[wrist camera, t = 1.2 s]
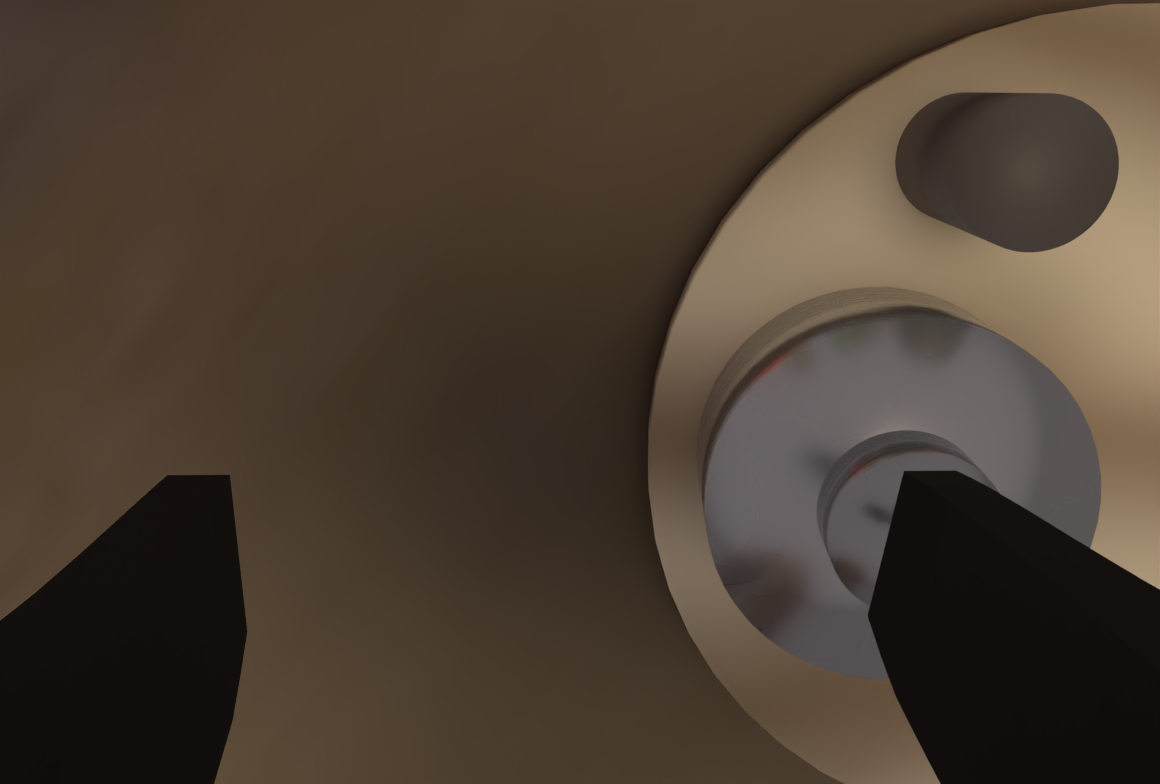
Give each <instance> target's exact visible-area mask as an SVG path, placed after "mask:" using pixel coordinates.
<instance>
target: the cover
mask: <svg viewBox="0 0 1160 784" xmlns="http://www.w3.org/2000/svg"><path fill="white" fill-rule="evenodd" d="M696 464H697V472H698V481H699V487H700V493H701V500H702V506H703V512H704V518H705V524H706V531H707V537H708V543H709V546H710V550H711V554H712V558H713V561H714V565H715V567H716V569H717V572H718V574H719V576H720V579H721V581H722V583H723V585H724V587H725V589H726V590H727V592H728V594H729V595H730V597H731V599H732V600H733V602H734V604H735V605H736V606H737V607H738V609H739V610H740V611H741V612H742V614H743V615H744V616H745V617H746V618H747V620H748V621H749V622H750V623H751V624H752V625H753V626H754V627H755V628H756V629H757V630H759V631H760V632H761V633H762V634H763V635H764V636H765V637H766V638H767V639H769V640H770V641H772V642H773V643H774V644H776V645H777V646H779V647H780V648H781V649H783V650H784V651H786V652H788V653H790V654H792V655H793V656H795V657H797V658H799V659H801V660H803V661H805V662H807V663H809V664H812V665H815V666H817V667H820V668H822V669H825V670H828V671H832V672H836V673H839V674H843V675H847V676H852V677H859V678H867V679H875V680H889V677H888V674H887V672H886V669H885V666H884V664H883V661H882V658H881V655H880V652H879V649H878V646H877V643H876V640H875V637H874V634H873V631H872V628H871V625H870V622H869V619H868V612H869V608H870V604H871V600H872V596H873V592H874V588H875V584H876V580H877V576H878V572H879V568H880V564H881V560H882V556H883V552H884V548H885V544H886V540H887V536H888V532H889V528H890V524H891V520H892V516H893V512H894V508H895V504H896V500H897V496H898V492H899V488H900V484H901V480H902V476H903V472H904V471H953V470H956V471H958V472H960V473H962V474H964V475H967V476H969V477H971V478H973V479H975V480H976V481H978V482H980V483H982V484H984V485H986V486H988V487H989V488H991V489H993V490H995V491H996V492H998V493H1000V494H1001V495H1003V496H1005V497H1007V498H1008V499H1010V500H1012V501H1013V502H1015V503H1017V504H1018V505H1020V506H1022V507H1023V508H1025V509H1027V510H1028V511H1030V512H1032V513H1033V514H1035V515H1037V516H1038V517H1040V518H1041V519H1043V520H1045V521H1046V522H1048V523H1050V524H1051V525H1053V526H1055V527H1056V528H1058V529H1059V530H1061V531H1063V532H1064V533H1066V534H1068V535H1069V536H1071V537H1073V538H1074V539H1076V540H1077V541H1079V542H1081V543H1082V544H1084V545H1086V546H1087V547H1089V548H1090V547H1091V545H1092V541H1093V538H1094V534H1095V531H1096V527H1097V524H1098V518H1099V510H1100V503H1101V472H1100V465H1099V459H1098V452H1097V448H1096V445H1095V442H1094V439H1093V436H1092V432H1091V429H1090V427H1089V425H1088V423H1087V421H1086V419H1085V417H1084V415H1083V413H1082V410H1081V408H1080V406H1079V405H1078V404H1077V402H1076V401H1075V399H1074V398H1073V396H1072V395H1071V393H1070V392H1069V391H1068V389H1067V388H1066V386H1065V385H1064V384H1063V383H1062V382H1061V381H1060V380H1059V379H1058V378H1057V377H1056V376H1055V375H1054V373H1053V372H1052V371H1051V370H1050V369H1049V368H1048V367H1046V366H1045V365H1044V364H1043V363H1041V362H1040V361H1039V360H1038V359H1036V358H1035V357H1034V356H1033V355H1031V354H1030V353H1029V352H1027V351H1026V350H1024V349H1023V348H1021V347H1020V346H1018V345H1017V344H1015V343H1014V342H1012V341H1011V340H1009V339H1008V338H1006V337H1005V336H1003V335H1002V334H1000V333H999V332H997V331H996V330H995V329H993V328H992V327H990V326H989V325H987V324H986V323H984V322H983V321H981V320H980V319H978V318H977V317H975V316H974V315H972V314H970V313H969V312H967V311H965V310H963V309H962V308H960V307H958V306H957V305H955V304H953V303H950V302H948V301H945V300H943V299H940V298H938V297H936V296H933V295H929V294H925V293H922V292H918V291H914V290H909V289H901V288H893V287H861V288H854V289H846V290H840V291H836V292H832V293H828V294H825V295H821V296H818V297H815V298H813V299H810V300H808V301H805V302H803V303H800V304H798V305H796V306H794V307H792V308H790V309H788V310H786V311H785V312H783V313H781V314H779V315H777V316H776V317H774V318H773V319H772V320H770V321H769V322H768V323H766V324H765V325H763V326H762V327H761V328H759V329H758V330H757V331H756V332H755V333H754V334H753V335H751V336H750V337H749V338H748V339H747V340H746V341H745V342H744V343H743V344H742V345H741V346H740V347H739V348H738V350H737V351H736V352H735V353H734V354H733V356H732V357H731V358H730V359H729V361H728V362H727V363H726V365H725V366H724V368H723V369H722V371H721V373H720V374H719V376H718V377H717V379H716V381H715V383H714V385H713V387H712V389H711V391H710V394H709V396H708V398H707V400H706V403H705V406H704V410H703V413H702V416H701V419H700V424H699V430H698V437H697V452H696Z"/></svg>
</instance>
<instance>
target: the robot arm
mask: <svg viewBox="0 0 1160 784" xmlns="http://www.w3.org/2000/svg"><path fill="white" fill-rule="evenodd" d="M868 619H869V622H870V625H871V628H872V631H873V634H874V637H875V640H876V643H877V646H878V649H879V652H880V655H881V658H882V661H883V664H884V666H885V669H886V672H887V674H888V677H889V680H890V682H891V685H892V688H893V691H894V693H895V696H896V698H897V700H898V702H899V704H900V706H901V708H902V710H903V712H904V714H905V716H906V718H907V720H908V722H909V724H910V726H911V728H912V730H913V732H914V734H915V736H916V738H917V740H918V742H919V744H920V745H921V747H922V749H923V751H924V753H925V755H926V757H927V759H928V761H929V763H930V765H931V767H932V769H933V771H934V772H935V774H936V776H937V778H938V780H939V782H940V784H1160V589H1158V588H1156V587H1155V586H1153V585H1151V584H1149V583H1148V582H1146V581H1144V580H1142V579H1141V578H1139V577H1137V576H1136V575H1134V574H1132V573H1131V572H1129V571H1127V570H1125V569H1124V568H1122V567H1120V566H1119V565H1117V564H1115V563H1114V562H1112V561H1110V560H1109V559H1107V558H1105V557H1104V556H1102V555H1100V554H1099V553H1097V552H1095V551H1094V550H1092V549H1091V548H1089V547H1087V546H1086V545H1084V544H1082V543H1081V542H1079V541H1077V540H1076V539H1074V538H1073V537H1071V536H1069V535H1068V534H1066V533H1064V532H1063V531H1061V530H1059V529H1058V528H1056V527H1055V526H1053V525H1051V524H1050V523H1048V522H1046V521H1045V520H1043V519H1041V518H1040V517H1038V516H1037V515H1035V514H1033V513H1032V512H1030V511H1028V510H1027V509H1025V508H1023V507H1022V506H1020V505H1018V504H1017V503H1015V502H1013V501H1012V500H1010V499H1008V498H1007V497H1005V496H1003V495H1001V494H1000V493H998V492H996V491H995V490H993V489H991V488H989V487H988V486H986V485H984V484H982V483H980V482H978V481H976V480H975V479H973V478H971V477H969V476H967V475H964V474H962V473H960V472H958V471H956V470H953V471H904V472H903V476H902V480H901V484H900V488H899V492H898V496H897V500H896V504H895V508H894V512H893V516H892V520H891V524H890V528H889V532H888V536H887V540H886V544H885V548H884V552H883V556H882V560H881V564H880V568H879V572H878V576H877V580H876V584H875V588H874V592H873V596H872V600H871V604H870V608H869V612H868ZM246 636H247V626H246V617H245V608H244V599H243V590H242V581H241V572H240V563H239V554H238V545H237V536H236V527H235V518H234V509H233V500H232V491H231V482H230V475H167V476H166V477H165V478H164V479H163V480H162V481H160V482H159V483H158V484H157V485H156V486H155V487H154V488H152V489H151V490H150V491H149V492H148V493H147V494H146V495H145V496H144V497H142V498H141V499H140V500H139V501H138V502H137V503H136V504H135V505H134V506H132V507H131V508H130V509H129V510H128V511H127V512H126V513H125V514H124V515H123V516H121V517H120V518H119V519H118V520H117V521H116V522H115V523H114V524H113V525H112V526H110V527H109V528H108V529H107V530H106V531H105V532H104V533H103V534H102V535H101V536H99V537H98V538H97V539H96V540H95V541H94V542H93V543H92V544H91V545H90V546H88V547H87V548H86V549H85V550H84V551H83V552H82V553H81V554H80V555H78V556H77V557H76V558H75V559H74V560H73V561H72V562H70V563H69V564H68V565H67V566H66V567H65V568H63V569H62V570H61V571H60V572H59V573H58V574H57V575H55V576H54V577H53V578H52V579H51V580H50V581H49V582H47V583H46V584H45V585H44V586H43V587H42V588H40V589H39V590H38V591H37V592H36V593H35V594H34V595H32V596H31V597H30V598H28V599H27V600H26V601H25V602H23V603H22V604H21V605H20V606H18V607H17V608H16V609H15V610H13V611H12V612H11V613H10V614H8V615H7V616H6V617H4V618H3V619H2V620H1V621H0V784H214V782H215V778H216V775H217V771H218V768H219V765H220V761H221V758H222V755H223V751H224V748H225V745H226V741H227V738H228V734H229V731H230V727H231V724H232V720H233V715H234V709H235V703H236V697H237V692H238V686H239V680H240V674H241V668H242V661H243V655H244V649H245V642H246Z"/></svg>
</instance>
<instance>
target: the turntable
mask: <svg viewBox="0 0 1160 784" xmlns="http://www.w3.org/2000/svg"><path fill="white" fill-rule="evenodd" d="M861 287H893V288H901V289H909V290H914V291H918V292H922V293H925V294H929V295H933V296H936V297H938V298H940V299H943V300H945V301H948V302H950V303H953V304H955V305H957V306H958V307H960V308H962V309H963V310H965V311H967V312H969V313H970V314H972V315H974V316H975V317H977V318H978V319H980V320H981V321H983V322H984V323H986V324H987V325H989V326H990V327H992V328H993V329H995V330H996V331H997V332H999V333H1000V334H1002V335H1003V336H1005V337H1006V338H1008V339H1009V340H1011V341H1012V342H1014V343H1015V344H1017V345H1018V346H1020V347H1021V348H1023V349H1024V350H1026V351H1027V352H1029V353H1030V354H1031V355H1033V356H1034V357H1035V358H1036V359H1038V360H1039V361H1040V362H1041V363H1043V364H1044V365H1045V366H1046V367H1048V368H1049V369H1050V370H1051V371H1052V372H1053V373H1054V375H1055V376H1056V377H1057V378H1058V379H1059V380H1060V381H1061V382H1062V383H1063V384H1064V385H1065V386H1066V388H1067V389H1068V391H1069V392H1070V393H1071V395H1072V396H1073V398H1074V399H1075V401H1076V402H1077V404H1078V405H1079V406H1080V408H1081V410H1082V413H1083V415H1084V417H1085V419H1086V421H1087V423H1088V425H1089V427H1090V429H1091V432H1092V436H1093V439H1094V442H1095V445H1096V448H1097V452H1098V459H1099V465H1100V472H1101V503H1100V510H1099V518H1098V524H1097V527H1096V531H1095V534H1094V538H1093V541H1092V545H1091V547H1090V548H1091V549H1092V550H1094V551H1095V552H1097V553H1099V554H1100V555H1102V556H1104V557H1105V558H1107V559H1109V560H1110V561H1112V562H1114V563H1115V564H1117V565H1119V566H1120V567H1122V568H1124V569H1125V570H1127V571H1129V572H1131V573H1132V574H1134V575H1136V576H1137V577H1139V578H1141V579H1142V580H1144V581H1146V582H1148V583H1149V584H1151V585H1153V586H1155V587H1156V588H1158V589H1160V3H1145V4H1110V5H1104V6H1097V7H1091V8H1084V9H1078V10H1071V11H1065V12H1058V13H1052V14H1045V15H1040V16H1034V17H1029V18H1024V19H1020V20H1017V21H1013V22H1010V23H1006V24H1003V25H999V26H996V27H992V28H989V29H985V30H982V31H979V32H975V33H972V34H968V35H965V36H962V37H960V38H957V39H955V40H953V41H950V42H948V43H946V44H943V45H941V46H939V47H936V48H934V49H932V50H929V51H927V52H925V53H922V54H920V55H918V56H915V57H913V58H911V59H909V60H906V61H904V62H902V63H901V64H899V65H897V66H896V67H894V68H892V69H891V70H889V71H887V72H885V73H884V74H882V75H880V76H879V77H877V78H875V79H874V80H872V81H870V82H868V83H867V84H865V85H863V86H862V87H860V88H858V89H857V90H855V91H853V92H851V93H850V94H849V95H847V96H846V97H845V98H843V99H842V100H841V101H839V102H838V103H837V104H836V105H834V106H833V107H832V108H830V109H829V110H828V111H826V112H825V113H824V114H823V115H821V116H820V117H819V118H817V119H816V120H815V121H813V122H812V123H811V124H810V125H808V126H807V127H806V128H804V129H803V130H802V131H801V132H800V133H799V134H798V135H797V136H796V137H795V138H794V139H793V140H792V141H791V142H790V143H789V144H787V145H786V146H785V147H784V148H783V149H782V150H781V151H780V152H779V153H778V154H777V155H776V156H775V157H774V158H773V159H772V160H771V161H770V162H769V163H768V164H767V165H766V166H765V167H764V168H763V169H762V170H761V171H760V172H759V173H758V174H757V176H756V177H755V178H754V179H753V181H752V182H751V183H750V184H749V186H748V187H747V188H746V190H745V191H744V192H743V193H742V195H741V196H740V197H739V198H738V200H737V201H736V202H735V204H734V205H733V206H732V207H731V209H730V210H729V211H728V212H727V214H726V215H725V216H724V218H723V219H722V220H721V222H720V224H719V225H718V227H717V229H716V230H715V232H714V234H713V235H712V237H711V239H710V240H709V242H708V244H707V245H706V247H705V249H704V250H703V252H702V254H701V255H700V257H699V259H698V260H697V262H696V264H695V265H694V267H693V269H692V271H691V273H690V275H689V278H688V280H687V282H686V285H685V287H684V289H683V292H682V294H681V296H680V298H679V301H678V303H677V305H676V308H675V310H674V312H673V315H672V317H671V319H670V322H669V326H668V329H667V333H666V336H665V340H664V343H663V347H662V350H661V354H660V357H659V361H658V364H657V368H656V372H655V379H654V386H653V393H652V400H651V407H650V414H649V421H648V487H649V497H650V505H651V512H652V519H653V527H654V534H655V541H656V545H657V548H658V552H659V555H660V559H661V563H662V566H663V570H664V573H665V577H666V580H667V584H668V587H669V590H670V592H671V595H672V597H673V599H674V601H675V604H676V606H677V608H678V610H679V613H680V615H681V617H682V619H683V622H684V624H685V626H686V628H687V631H688V633H689V635H690V636H691V638H692V640H693V641H694V643H695V644H696V646H697V647H698V649H699V651H700V652H701V654H702V655H703V657H704V659H705V660H706V662H707V663H708V665H709V667H710V668H711V670H712V671H713V673H714V675H715V676H716V677H717V678H718V679H719V681H720V682H721V683H722V684H723V685H724V687H725V688H726V689H727V690H728V691H729V693H730V694H731V695H732V696H733V697H734V699H735V700H736V701H737V702H738V703H739V704H740V706H741V707H742V708H743V709H744V710H745V712H746V713H747V714H749V715H750V716H751V717H752V718H753V719H754V720H755V721H756V722H757V723H758V724H760V725H761V726H762V727H763V728H764V729H765V730H766V731H767V732H768V733H769V734H771V735H772V736H773V737H774V738H775V739H776V740H777V741H778V742H779V743H780V744H782V745H783V746H785V747H786V748H787V749H789V750H790V751H792V752H793V753H795V754H796V755H797V756H799V757H800V758H802V759H803V760H805V761H806V762H808V763H809V764H810V765H812V766H813V767H815V768H816V769H818V770H819V771H820V772H822V773H824V774H826V775H828V776H830V777H832V778H834V779H836V780H838V781H839V782H841V783H843V784H940V782H939V780H938V778H937V776H936V774H935V772H934V771H933V769H932V767H931V765H930V763H929V761H928V759H927V757H926V755H925V753H924V751H923V749H922V747H921V745H920V744H919V742H918V740H917V738H916V736H915V734H914V732H913V730H912V728H911V726H910V724H909V722H908V720H907V718H906V716H905V714H904V712H903V710H902V708H901V706H900V704H899V702H898V700H897V698H896V696H895V693H894V691H893V688H892V685H891V682H890V680H875V679H867V678H859V677H852V676H847V675H843V674H839V673H836V672H832V671H828V670H825V669H822V668H820V667H817V666H815V665H812V664H809V663H807V662H805V661H803V660H801V659H799V658H797V657H795V656H793V655H792V654H790V653H788V652H786V651H784V650H783V649H781V648H780V647H779V646H777V645H776V644H774V643H773V642H772V641H770V640H769V639H767V638H766V637H765V636H764V635H763V634H762V633H761V632H760V631H759V630H757V629H756V628H755V627H754V626H753V625H752V624H751V623H750V622H749V621H748V620H747V618H746V617H745V616H744V615H743V614H742V612H741V611H740V610H739V609H738V607H737V606H736V605H735V604H734V602H733V600H732V599H731V597H730V595H729V594H728V592H727V590H726V589H725V587H724V585H723V583H722V581H721V579H720V576H719V574H718V572H717V569H716V567H715V565H714V561H713V558H712V554H711V550H710V546H709V543H708V537H707V531H706V524H705V518H704V512H703V506H702V500H701V493H700V487H699V481H698V472H697V464H696V452H697V437H698V430H699V424H700V419H701V416H702V413H703V410H704V406H705V403H706V400H707V398H708V396H709V394H710V391H711V389H712V387H713V385H714V383H715V381H716V379H717V377H718V376H719V374H720V373H721V371H722V369H723V368H724V366H725V365H726V363H727V362H728V361H729V359H730V358H731V357H732V356H733V354H734V353H735V352H736V351H737V350H738V348H739V347H740V346H741V345H742V344H743V343H744V342H745V341H746V340H747V339H748V338H749V337H750V336H751V335H753V334H754V333H755V332H756V331H757V330H758V329H759V328H761V327H762V326H763V325H765V324H766V323H768V322H769V321H770V320H772V319H773V318H774V317H776V316H777V315H779V314H781V313H783V312H785V311H786V310H788V309H790V308H792V307H794V306H796V305H798V304H800V303H803V302H805V301H808V300H810V299H813V298H815V297H818V296H821V295H825V294H828V293H832V292H836V291H840V290H846V289H854V288H861Z"/></svg>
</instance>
